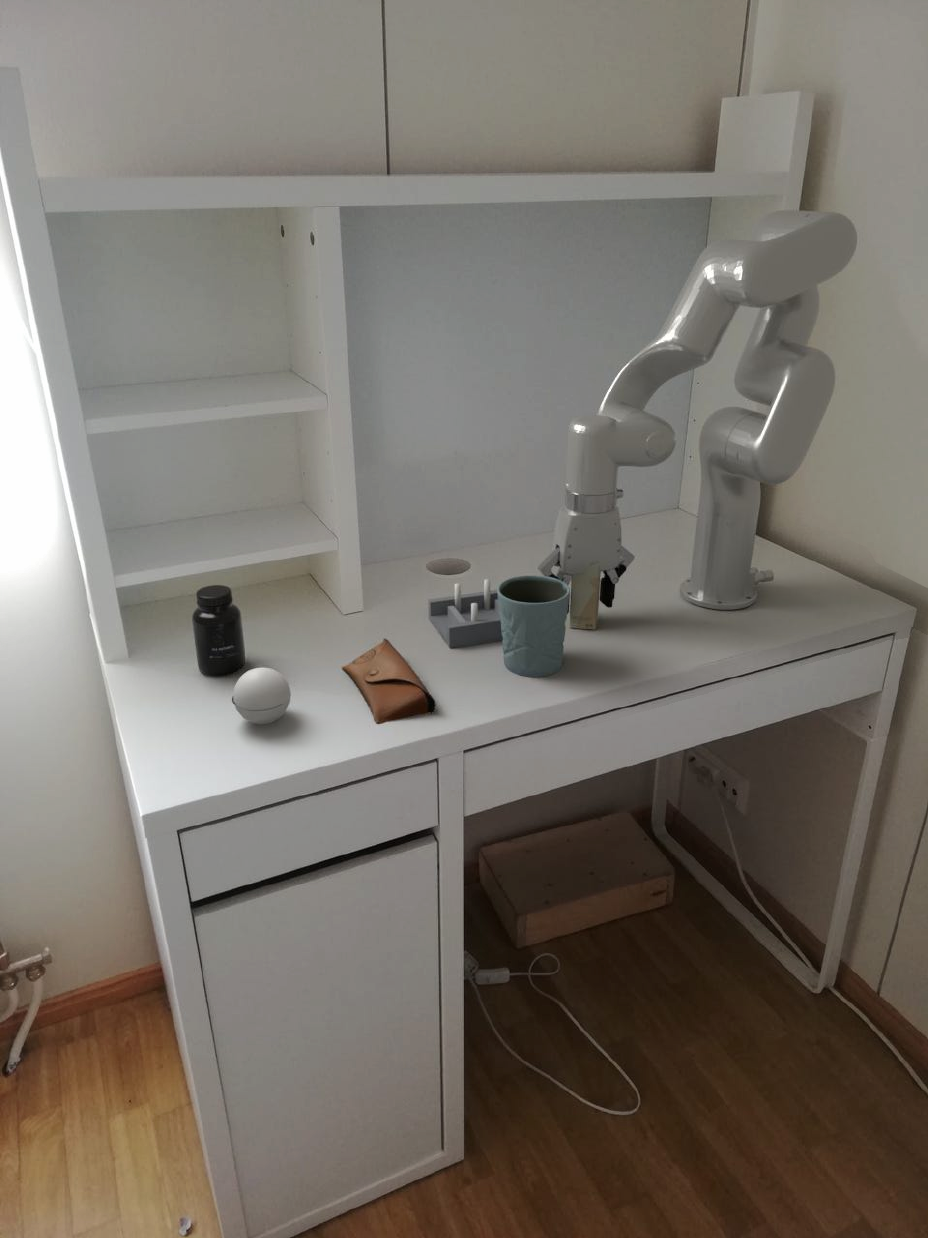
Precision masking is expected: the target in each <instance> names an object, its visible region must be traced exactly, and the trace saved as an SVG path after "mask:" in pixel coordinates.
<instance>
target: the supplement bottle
mask: <svg viewBox="0 0 928 1238" xmlns="http://www.w3.org/2000/svg"><path fill="white" fill-rule="evenodd" d="M195 594H196V605H197V608H195V609H194V611H193V612H192V616H191V622H192V630H193V636H194V637H193V638H194V646H195V653H196V659H197V660H196V661H197V667H198V669H199V670H200V672H201V673H202V674H205V675H207V676H210V677H224V676H225V677H226V676H229V675H233V674H235V673H239V671H241V670H242V669H243V668H244V667H245V665H246V664H247V663H246V662H247V661H246V658H247V657H246V648H245V639H244V628H243V622H242V621H243V619H242V618H243V617H242V612H241V610H240V608H239V607H238V606H237V605H235V603H233V602H234V599H233V594H232V588H230V587H228V586H226V585H223V584H222V585H220V584H215V585H214V584H213V585H206V586H204V587H200V588H199V589H198V590H197V591H196V593H195Z"/></svg>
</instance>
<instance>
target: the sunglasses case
mask: <svg viewBox="0 0 928 1238" xmlns="http://www.w3.org/2000/svg"><path fill="white" fill-rule="evenodd" d="M341 669H342V671H343V672H345V674H346V675H347V676H348V677H349V678H350V679H351V680H352V682H353V684H354V685H355V686H356V688H357V689H358V691H359V692H360V694H361V696H362V697H363V699H364V701H365V702H366V705H367V706H368V708H369V709H370V712H371V714H372V717H373V720H374V722H375V723H376V724H378V725H382V724H384V723H385V724H386V723H388V722H393V721H396V720H397V721H398V720H403V719H409V718H412V717H417V716H423V715H426V714H433V713H434V712H435V709H436V707H437V706H436V701H435V698H434V697H433V695H431V693H430V691H429V690H428V689H427V687H426V685H425V684H424V683H423V681H422V680H421V679H420V677H419V676H418V675H417V674H416V672H415V671H414V669H413V668H412V667H411V666H410V665H409V663H408V662H407V661H406V659H405V658H404V657H403V655H401V653H400V652H399V651H398V650H397V649H396V647H394V645H393V644H392V643H391V642H390V640H388V639H387V638H383V639H382V642H380V643H378V644H377V645H375V646H374V647H373V648H371V649H369V650H367V652H364V653H363V654H361V655H359V656H357V658H355V659H353V660H352V661H351V662H349V663H348V664H346V665H342V666H341Z"/></svg>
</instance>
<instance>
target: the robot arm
mask: <svg viewBox="0 0 928 1238" xmlns="http://www.w3.org/2000/svg"><path fill="white" fill-rule="evenodd" d="M857 244H858V233H857V230H856V227H855V225H854V223H853V222H852V220H851V219H850V218H849V217H848V216H846V215H844V214H842V213H839V212H834V211H821V210H820V211H818V210H817V211H815V210H813V211H812V210H796V209H795V210H794V209H792V210H791V209H790V210H789V209H788V210H787V209H786V210H785V209H784V210H777V211H771V212H768V213H767V214H764V215H763V216H761V217H760V218H759V219H758V220H757V221H756V222H755V224H754V226H753V228H752V231H751V235H750V238H749V240H744V239H721V240H718V241H714V242H712V243H710V244H709V245H708V246H706V247H705V248H704V249H703V251H702V252H701V253H700V254H699V256H698V258H697V260H696V262H695V263H694V265H693V267H692V269H691V271H690V273H689V275H688V277H687V279H686V281H685V283H684V285H683V286H682V289H681V291H680V292H679V294H678V296H677V299H676V300H675V301H674V304H673V306H672V308H671V310H670V312H669V314H668V316H667V318H666V320H665V321H664V324H663V325H662V328H661V329H660V331H659V333H658V334H657V335H656V336H655V338H654V339H653V340H652V341H650V342H649V343H647V344H646V345H645V346H644V347H643V348H642V349H640V351H638V352H637V354H635V356H633V357H632V359H630V360H629V361H628V362H627V363H626V364H625V365H624V366H623V367H622V368H621V370H620V371H619V372H618V373H617V374H616V376H615V377H614V379H613V381H612V382H611V384H610V386H609V387H608V389H607V391H606V393H605V396H604V398H603V400H602V401H601V404H600V406H599V408H598V411H597V413H596V414H587V415H586V414H585V415H581V416H578V417H575V418H573V419H572V420H571V421H570V423H569V426H568V429H567V430H568V432H567V433H568V434H567V454H566V473H565V474H566V478H565V480H566V481H565V495H564V496H565V500H564V506H561V507H559V509H558V514H557V517H556V521H555V526H554V531H553V537H552V538H553V539H552V547H551V553H550V554H549V555H548V556H547V557H546V558H544V560H543V561H542V562H541V563H540V564H539V565H538V567H537V570H538V571H539V572H540V574H542V576H547V577H552V578H556V579H558V580H561V581H562V582H564V583H566V584H567V585H568V586H570V584H571V580H572V577H573V575H577V574H582V573H585V571H586V569H587V567H588V565H589V564H592V563H600V571H601V573H602V574H603V577H601V579H600V591H599V602H600V603H602V605H604V606H605V607H606V608H609V609H610V608H613V601H614V599H615V595H616V593H615V591H616V584H618V583H619V581H620V578H621V577H622V576H623V575H624V573H625V572H626V571H627V568H629V566H630V565H631V564H632V563H633V562H634V560H635V558H636V557H635V555H634V554H633V553H632V552H630V550H628V549H627V548H625V547H624V546H623V545H622V544H623V543H622V541H623V540H622V539H623V538H622V526H621V525H622V522H621V516H620V510H619V507H618V506H617V500H618V499H621V498H623V497H624V491H623V488H619V489H618V487H617V486H618V472H619V470H618V469H619V467H638V468H639V467H640V468H645V467H648V468H649V467H654V466H657V465H660V464H661V463H664V462H666V461H667V459H669V458H670V457H671V455H672V454H673V452H674V450H675V447H676V443H677V436H676V433H675V430H674V428H673V427H672V425H671V424H670V423H669V422H668V421H666V419H664V418H662V417H660V416H658V415H655V414H652V413H650V412H647V411H646V410H645V408H646V406H647V404H648V403H649V401H650V400H651V398H652V397H653V396H654V394H655V393H656V392H657V391H658V389H659V388H661V387H662V386H664V385H665V384H666V383H667V382H668V381H670V380H671V379H673V378H676V377H678V376H680V375H682V374H684V373H688V372H690V371H692V370H695V369H697V368H700V367H702V366H705V365H706V364H708V363H709V362H711V360H712V359H713V358H714V355H715V354H716V352H717V349H718V347H719V346H720V344H721V342H722V339H723V338H724V336H725V334H726V332H727V330H728V329H729V327H730V325H731V323H732V322H733V319H734V318H735V316H736V314H737V312H738V311H739V308H740V307H742V306H743V307H747V308H758V313H757V315H756V318H755V321H754V324H753V326H752V328H751V331H750V333H749V336H748V338H747V340H746V342H745V345H744V348H743V351H742V353H741V355H740V358H739V359H738V360H739V361H738V363H737V366H736V369H735V372H734V378H733V383H734V388H735V389H736V391H737V392H738V394H739V395H740V396H742V397H743V398H745V399H747V400H749V401H752V402H754V403H757V404H761V405H765V406H768V407H769V409H768V412H767V414H764V413H761V412H759V411H756V410H751V409H748V408H745V407H740V406H727V407H722V408H719V409H717V410H716V411H714V412H713V413H711V414H710V415H709V416H708V417H707V418H706V420H705V421H704V423H703V425H702V427H701V430H700V433H699V441H698V445H699V446H698V449H699V450H698V451H699V459H700V460H699V461H700V486H699V488H700V489H699V498H698V499H699V500H698V505H697V515H696V516H697V517H696V526H695V535H694V543H693V553H692V560H691V571H690V577H689V578H686V579H684V580H683V581H682V582H681V583H680V585H679V593H680V595H681V597H682V598H683V599H684V600H686V601H687V602H689V603H691V604H694V605H696V606H699V607H701V608H707V609H712V610H721V611H722V610H723V611H728V610H729V611H731V610H733V611H734V610H739V609H744V608H747V607H750V606H752V605H753V604H754V603H756V600H757V596H758V595H757V593H758V592H757V590H756V588H755V586H756V585H758V584H759V583H767V582H772V581H773V580H774V578H775V574H774V573H775V572H773V570H771V569H766V570H760V571H759V569H758V568H757V567H752V560H753V555H754V546H755V541H756V532H757V527H758V526H757V525H758V518H759V511H760V505H761V485H760V484H761V483H762V484H765V485H771V486H772V485H779V484H783V483H785V482H786V481H788V480H790V478H792V477H793V476H794V475H795V474H796V473H797V471H798V470H799V469H800V467H801V465H802V464H803V462H804V461H805V458H806V456H807V454H808V452H809V449H810V448H811V445H812V443H813V441H814V439H815V436H816V434H817V431H818V430H819V428H820V424H821V423H822V420H823V418H824V416H825V414H826V411H827V409H828V407H829V405H830V402H831V399H832V397H833V394H834V391H835V384H836V371H835V366H834V363H833V361H832V359H831V358H830V357H829V355H828V354H826V352H825V351H823V350H820V349H818V348H816V347H811V346H808V344H809V341H810V339H811V335H812V334H813V333H812V332H813V330H814V328H815V325H816V323H817V320H818V316H819V312H820V294H819V289H818V285H821V284H822V283H824V282H826V281H828V280H830V279H833V278H834V277H836V276H837V275H838V274H839V273H841V272H842V271H843V270H844V269H845V268H846V267H847V266H848V264H849V263H850V261H852V258H853V256H854V255H855V251H856V250H857V249H856V248H857V246H858V245H857ZM644 410H645V411H644ZM553 567H558V570H557V572H556V574H555V573H553V571H552V569H553ZM570 601H571V594H570V595H569V603H568V611H567V615H568V614H570Z"/></svg>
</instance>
